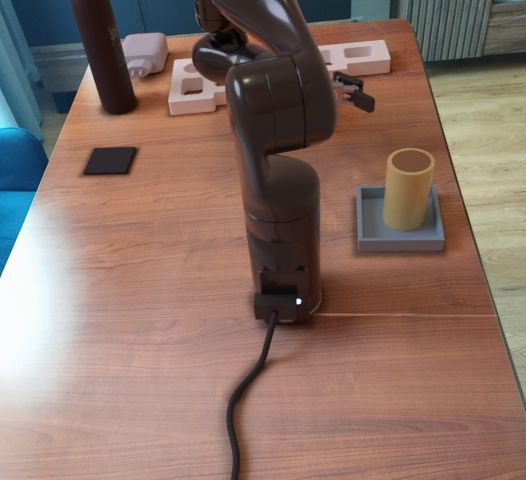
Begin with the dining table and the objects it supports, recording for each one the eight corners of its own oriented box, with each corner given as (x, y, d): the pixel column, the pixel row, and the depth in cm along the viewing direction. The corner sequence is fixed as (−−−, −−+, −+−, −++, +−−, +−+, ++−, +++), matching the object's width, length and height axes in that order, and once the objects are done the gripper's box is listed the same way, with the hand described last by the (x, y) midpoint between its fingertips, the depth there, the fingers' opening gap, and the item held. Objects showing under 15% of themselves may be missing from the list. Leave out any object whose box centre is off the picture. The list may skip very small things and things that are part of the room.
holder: (383, 52, 126) (384, 39, 124) (397, 94, 115) (398, 81, 112) (177, 72, 128) (174, 59, 126) (170, 115, 117) (167, 102, 115)
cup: (427, 231, 88) (437, 174, 80) (382, 231, 89) (388, 175, 81) (423, 204, 92) (432, 146, 84) (381, 204, 93) (386, 148, 85)
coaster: (126, 174, 105) (125, 171, 105) (83, 174, 106) (82, 172, 106) (135, 148, 110) (135, 146, 110) (95, 150, 111) (94, 147, 111)
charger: (117, 88, 126) (130, 56, 135) (159, 86, 125) (169, 53, 134) (111, 66, 122) (124, 34, 131) (154, 63, 121) (164, 31, 130)
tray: (442, 253, 86) (445, 239, 84) (358, 254, 87) (358, 240, 85) (433, 197, 94) (435, 184, 92) (356, 199, 95) (357, 185, 93)
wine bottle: (135, 112, 118) (89, -61, 95) (101, 116, 119) (46, -55, 95) (138, 95, 123) (94, -74, 100) (105, 99, 123) (53, -69, 100)
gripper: (245, 75, 90) (318, 113, 82) (313, 42, 95) (388, 74, 87) (250, 120, 96) (319, 160, 87) (313, 87, 101) (384, 121, 92)
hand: (353, 117), depth 87 cm, fingers open, 8 cm apart
